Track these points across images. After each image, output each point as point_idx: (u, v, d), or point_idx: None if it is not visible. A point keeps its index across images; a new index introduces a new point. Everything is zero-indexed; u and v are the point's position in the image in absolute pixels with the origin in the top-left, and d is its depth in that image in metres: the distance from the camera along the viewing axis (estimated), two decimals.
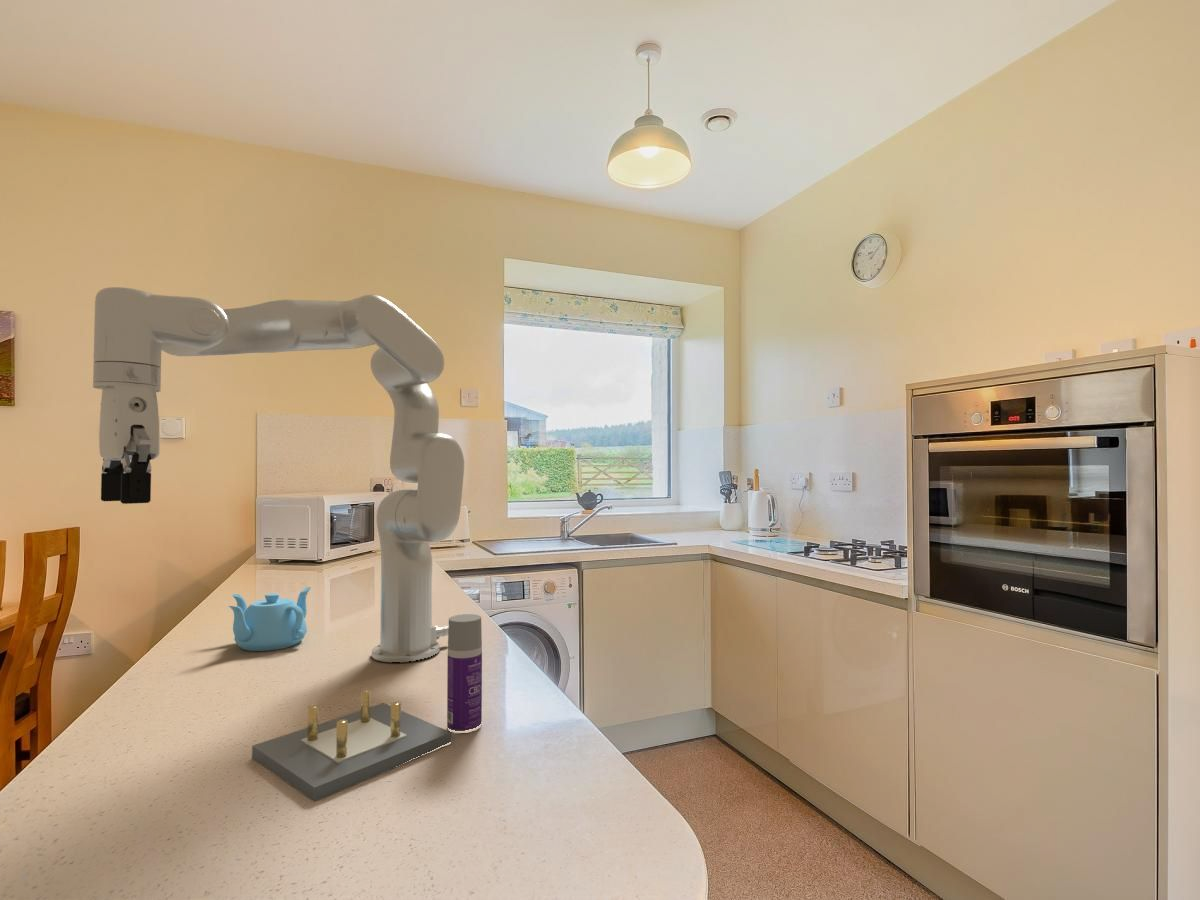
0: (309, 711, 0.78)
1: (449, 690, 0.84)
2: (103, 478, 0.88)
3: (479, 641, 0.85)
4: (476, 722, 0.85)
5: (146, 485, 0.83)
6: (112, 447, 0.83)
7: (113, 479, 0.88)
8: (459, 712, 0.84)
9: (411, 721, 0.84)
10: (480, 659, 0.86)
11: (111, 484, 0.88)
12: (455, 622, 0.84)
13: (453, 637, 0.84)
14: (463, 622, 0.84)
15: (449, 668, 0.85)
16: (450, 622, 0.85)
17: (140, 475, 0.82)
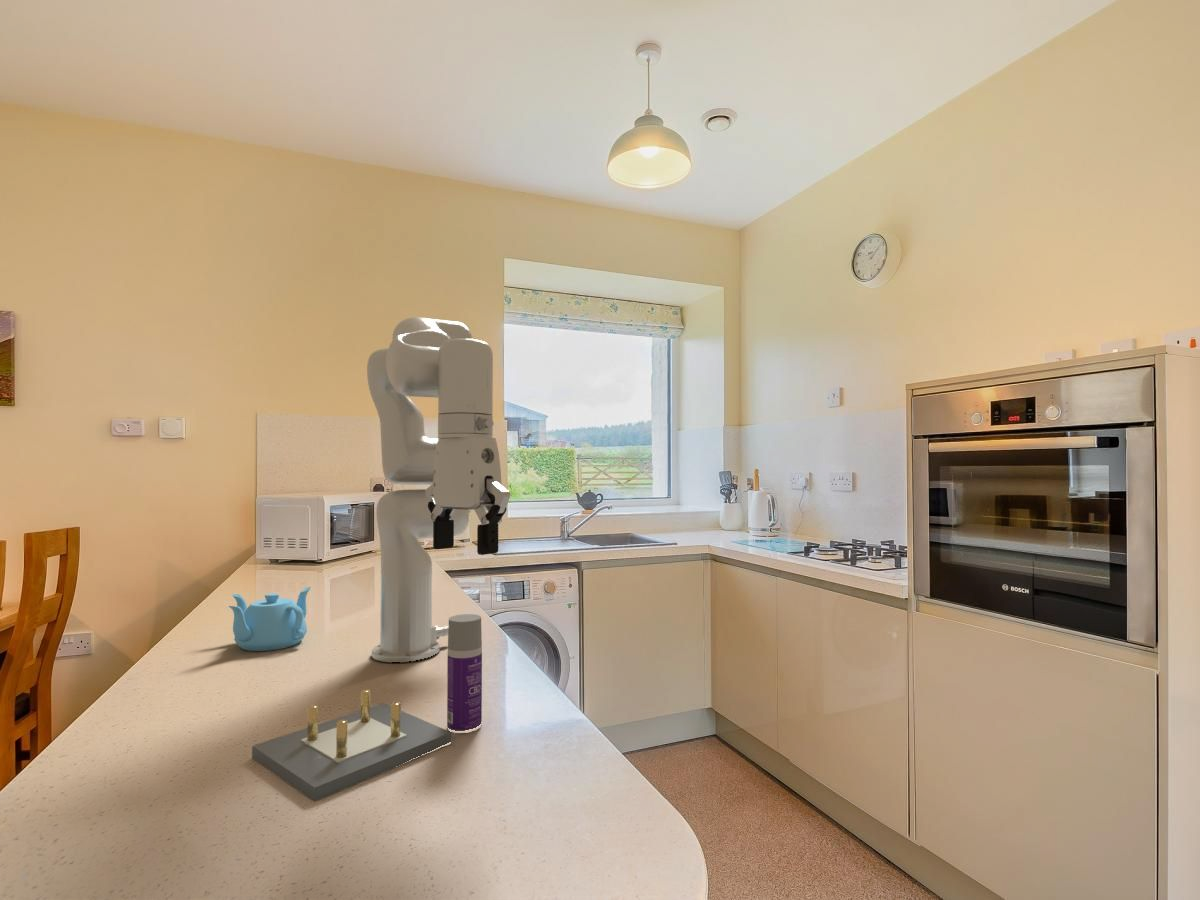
0: (309, 711, 0.78)
1: (449, 690, 0.84)
2: (436, 526, 0.88)
3: (479, 641, 0.85)
4: (476, 722, 0.85)
5: None
6: (465, 498, 0.83)
7: (443, 527, 0.89)
8: (459, 712, 0.84)
9: (411, 721, 0.84)
10: (480, 659, 0.86)
11: (442, 532, 0.89)
12: (455, 622, 0.84)
13: (453, 637, 0.84)
14: (463, 622, 0.84)
15: (449, 668, 0.85)
16: (450, 622, 0.85)
17: (494, 526, 0.83)
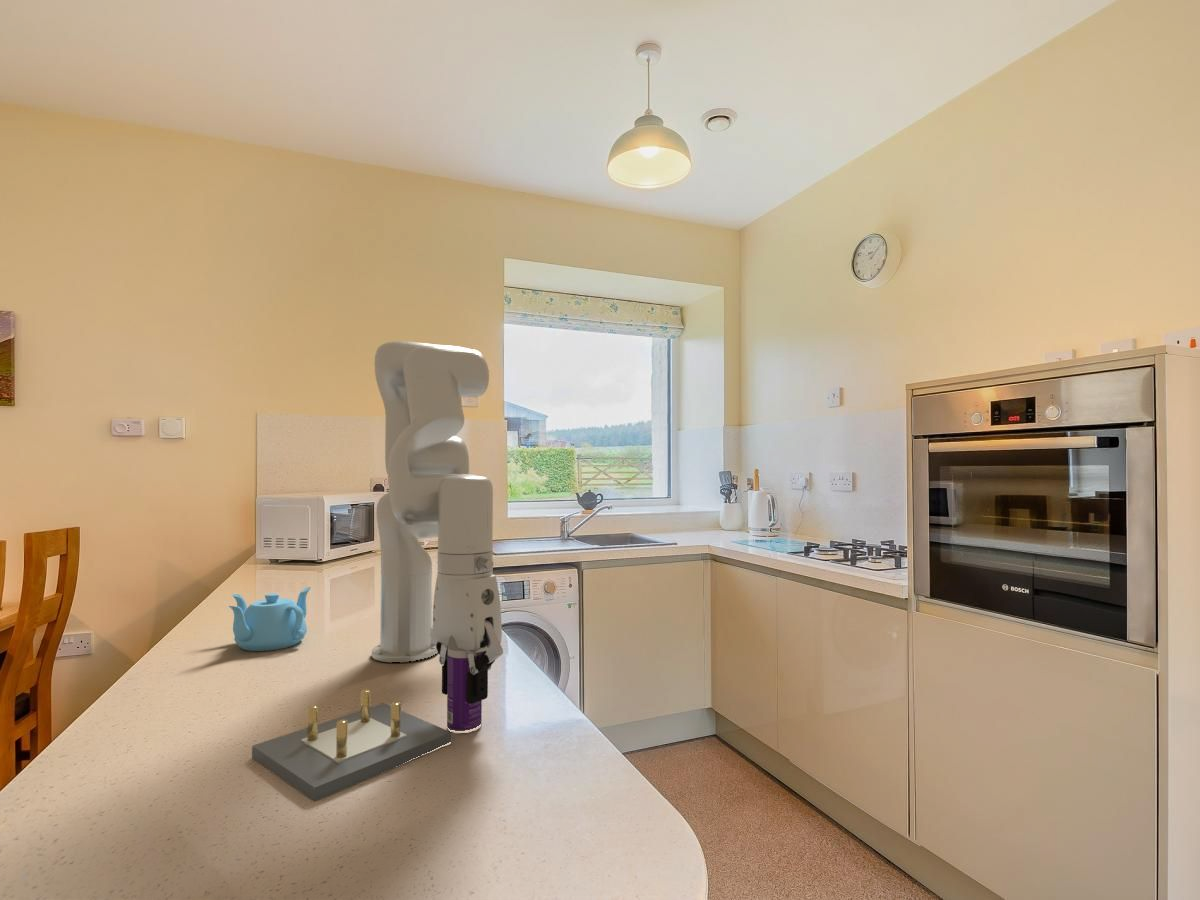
0: (309, 711, 0.78)
1: (449, 690, 0.84)
2: (445, 671, 0.86)
3: None
4: (476, 722, 0.85)
5: None
6: (465, 640, 0.83)
7: None
8: (459, 712, 0.84)
9: (411, 721, 0.84)
10: None
11: None
12: None
13: (453, 637, 0.84)
14: None
15: (449, 668, 0.85)
16: None
17: (483, 674, 0.84)
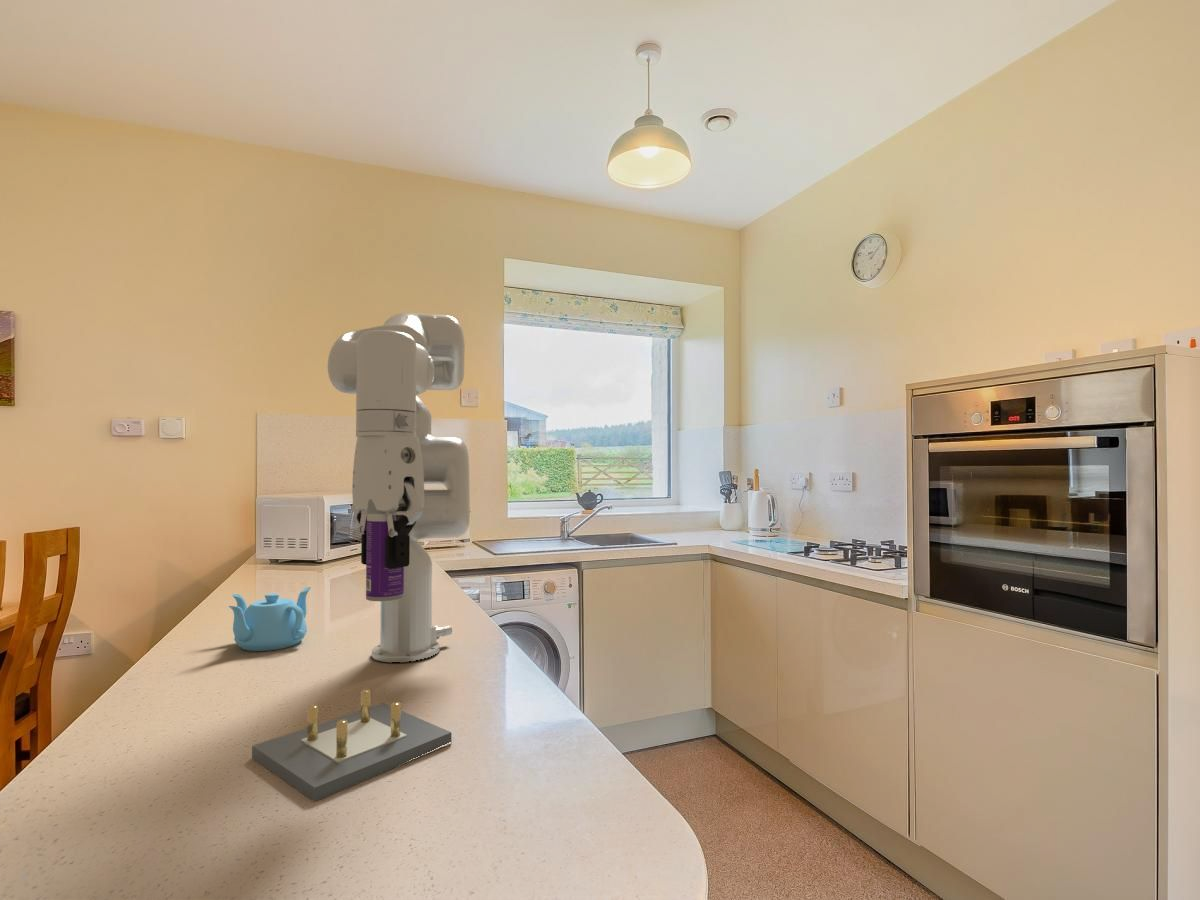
0: (309, 711, 0.78)
1: (367, 556, 0.79)
2: (364, 540, 0.81)
3: None
4: (396, 590, 0.80)
5: None
6: (383, 501, 0.78)
7: None
8: (377, 578, 0.79)
9: (411, 721, 0.84)
10: None
11: None
12: None
13: None
14: None
15: (367, 533, 0.80)
16: None
17: (404, 539, 0.79)
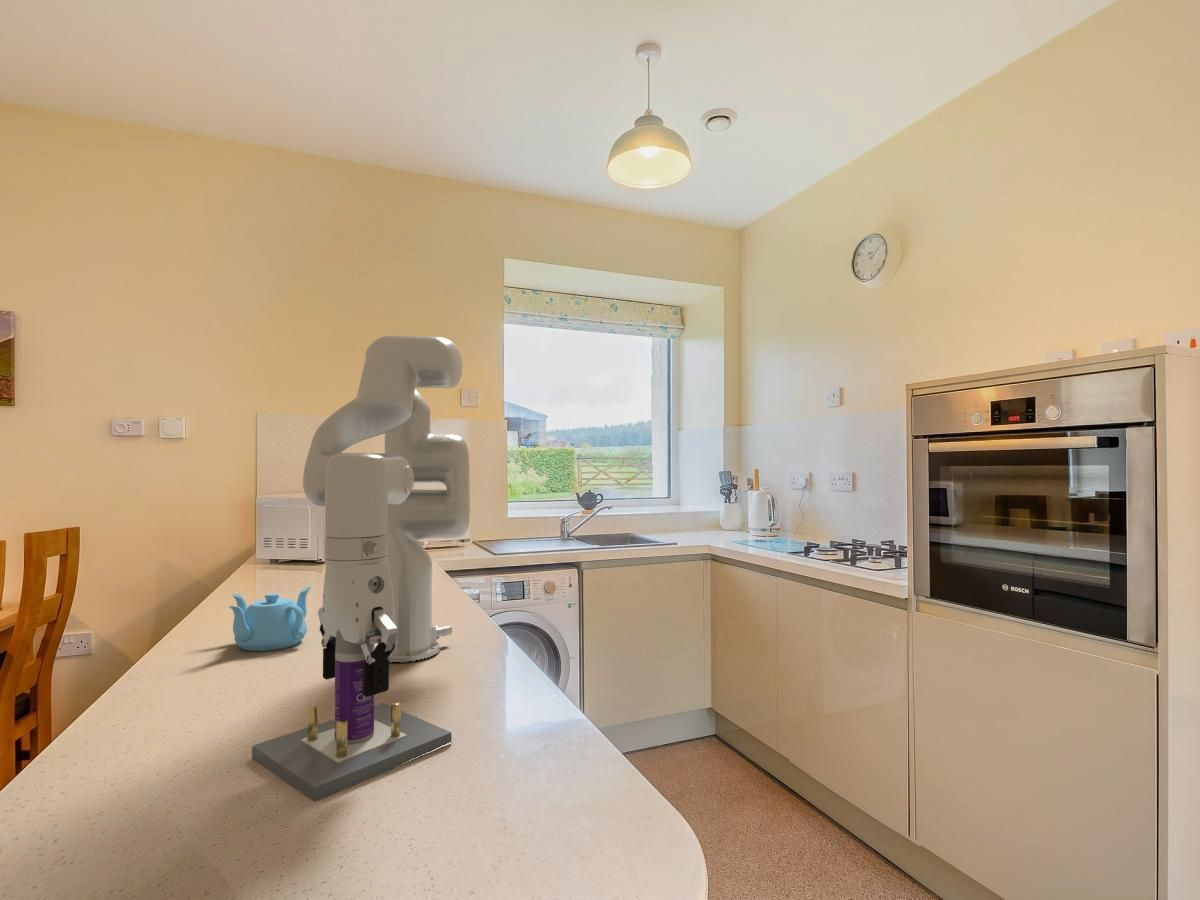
0: (309, 711, 0.78)
1: (336, 697, 0.77)
2: (326, 654, 0.81)
3: None
4: (365, 731, 0.77)
5: None
6: (350, 632, 0.76)
7: (334, 654, 0.81)
8: None
9: (411, 721, 0.84)
10: None
11: (333, 660, 0.81)
12: None
13: (339, 639, 0.77)
14: None
15: (335, 673, 0.77)
16: None
17: (382, 664, 0.75)
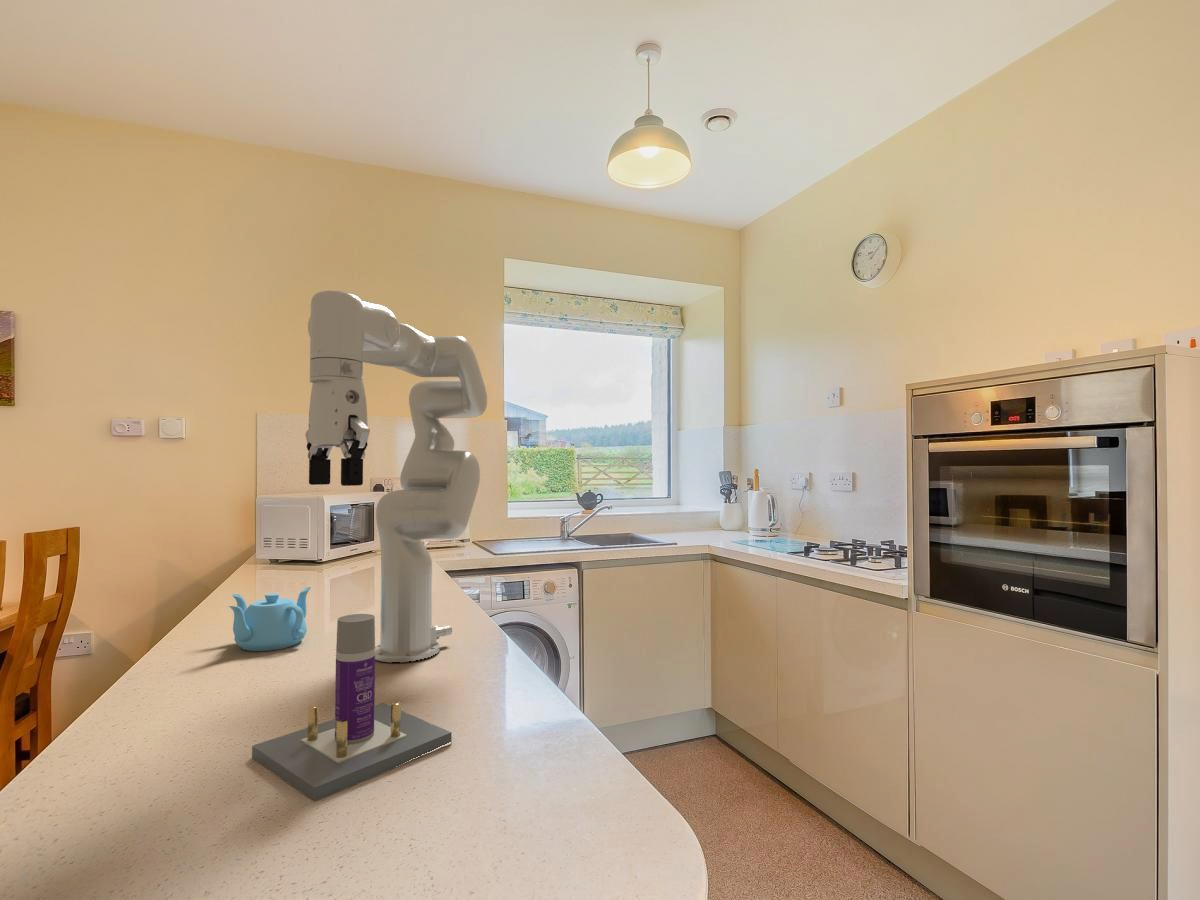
0: (309, 711, 0.78)
1: (336, 696, 0.77)
2: (311, 464, 0.97)
3: (370, 643, 0.78)
4: (365, 731, 0.77)
5: None
6: (331, 435, 0.92)
7: (319, 465, 0.97)
8: None
9: (411, 721, 0.84)
10: (372, 663, 0.79)
11: (317, 469, 0.97)
12: (342, 622, 0.77)
13: (340, 638, 0.77)
14: (351, 622, 0.77)
15: (336, 673, 0.77)
16: (338, 622, 0.78)
17: (357, 460, 0.92)
